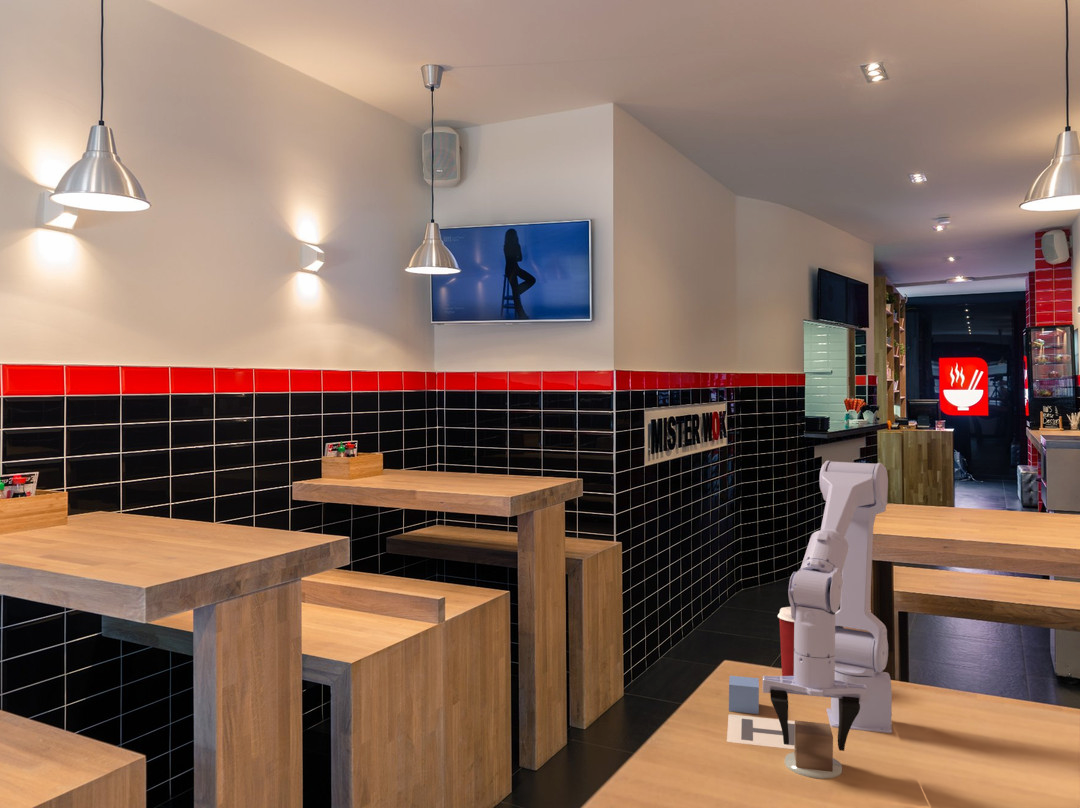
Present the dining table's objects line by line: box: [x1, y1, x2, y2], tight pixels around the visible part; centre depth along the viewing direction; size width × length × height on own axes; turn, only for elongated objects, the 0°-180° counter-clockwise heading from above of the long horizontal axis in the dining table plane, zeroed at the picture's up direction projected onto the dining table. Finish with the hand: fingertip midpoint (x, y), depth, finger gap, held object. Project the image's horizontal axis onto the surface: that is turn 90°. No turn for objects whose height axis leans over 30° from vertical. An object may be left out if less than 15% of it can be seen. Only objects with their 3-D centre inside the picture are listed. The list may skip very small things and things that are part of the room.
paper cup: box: [777, 606, 794, 676], centre depth 157 cm, size 8×8×14 cm
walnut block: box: [793, 719, 834, 772], centre depth 120 cm, size 5×5×5 cm
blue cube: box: [728, 675, 760, 715], centre depth 143 cm, size 5×5×5 cm
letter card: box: [726, 713, 795, 750], centre depth 132 cm, size 13×12×1 cm
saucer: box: [784, 752, 843, 780], centre depth 120 cm, size 8×8×1 cm
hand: (813, 745), depth 120 cm, fingers open, 7 cm apart
